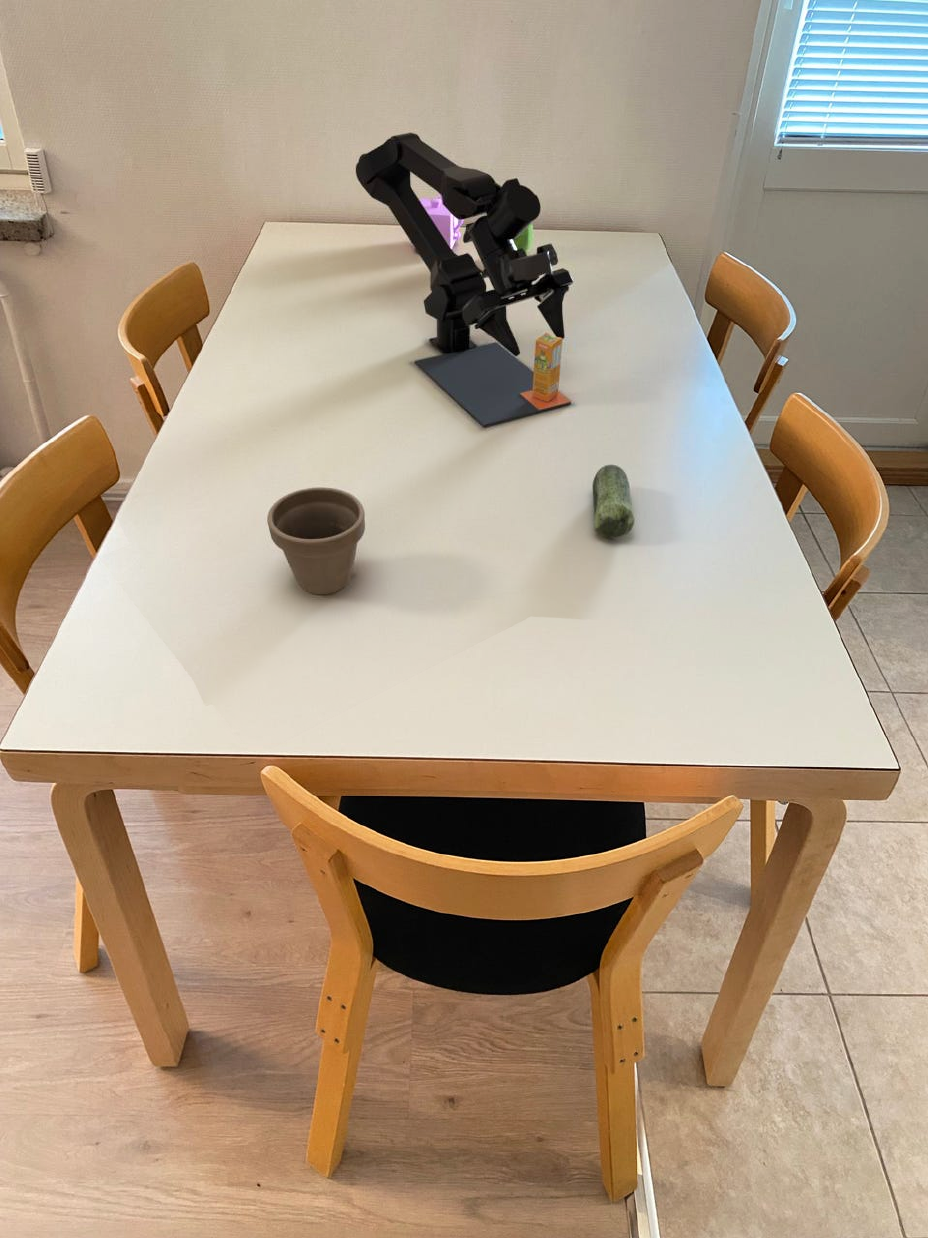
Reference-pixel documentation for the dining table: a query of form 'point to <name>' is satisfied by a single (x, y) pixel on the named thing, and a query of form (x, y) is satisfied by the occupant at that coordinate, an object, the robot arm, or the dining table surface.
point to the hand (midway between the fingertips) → (540, 347)
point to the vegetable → (612, 502)
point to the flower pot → (318, 536)
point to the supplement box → (547, 367)
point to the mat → (488, 384)
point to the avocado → (524, 239)
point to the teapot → (442, 219)
